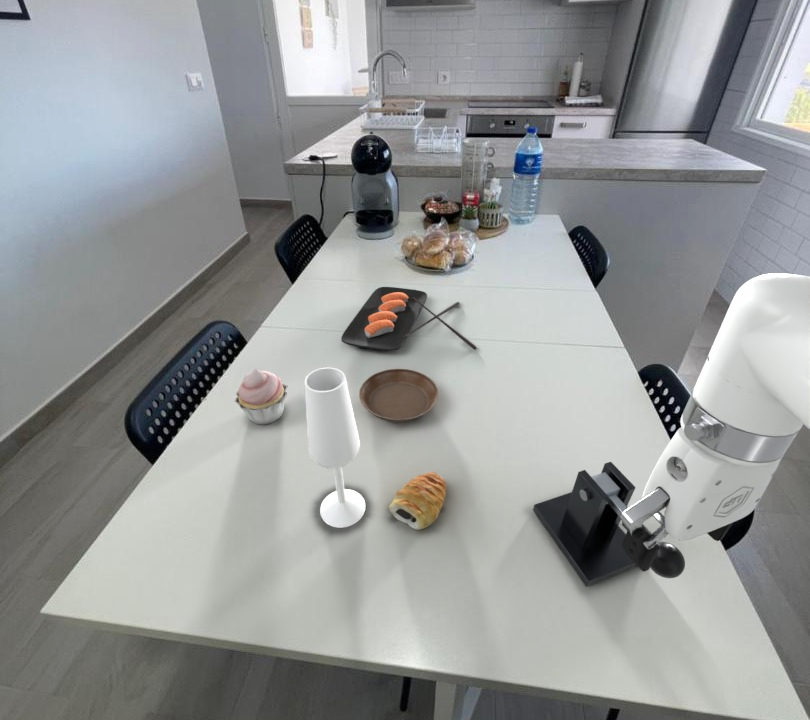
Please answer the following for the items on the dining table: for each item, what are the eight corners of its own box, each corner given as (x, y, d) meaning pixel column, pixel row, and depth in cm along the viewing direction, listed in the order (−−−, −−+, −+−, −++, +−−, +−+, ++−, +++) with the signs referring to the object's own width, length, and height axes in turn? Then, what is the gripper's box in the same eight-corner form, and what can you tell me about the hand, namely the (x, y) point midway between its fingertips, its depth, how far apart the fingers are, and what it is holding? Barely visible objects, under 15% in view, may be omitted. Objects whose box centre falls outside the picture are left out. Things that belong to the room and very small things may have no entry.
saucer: (445, 386, 89) (446, 375, 87) (426, 437, 77) (426, 426, 76) (376, 373, 92) (375, 362, 91) (347, 420, 81) (346, 409, 79)
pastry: (419, 472, 71) (420, 456, 69) (457, 492, 68) (459, 475, 66) (385, 515, 65) (385, 498, 62) (425, 538, 62) (426, 522, 59)
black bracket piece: (643, 563, 58) (674, 507, 52) (585, 586, 56) (610, 531, 49) (583, 492, 68) (603, 437, 61) (532, 510, 65) (547, 454, 58)
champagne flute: (356, 532, 62) (340, 402, 48) (312, 521, 64) (285, 392, 50) (372, 494, 68) (362, 367, 54) (331, 484, 69) (311, 358, 55)
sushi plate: (378, 291, 122) (377, 278, 120) (488, 305, 116) (489, 291, 114) (337, 348, 100) (335, 334, 98) (470, 369, 93) (472, 354, 91)
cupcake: (297, 397, 86) (289, 355, 80) (284, 432, 79) (274, 387, 73) (250, 395, 87) (239, 353, 81) (232, 429, 79) (218, 385, 73)
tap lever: (685, 578, 49) (698, 560, 46) (659, 589, 48) (671, 571, 45) (603, 485, 59) (610, 467, 57) (580, 493, 58) (587, 474, 56)
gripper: (695, 483, 32) (631, 606, 42) (855, 425, 37) (764, 547, 46) (620, 418, 38) (580, 539, 48) (766, 375, 43) (702, 493, 52)
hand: (671, 543), depth 47 cm, fingers open, 9 cm apart
